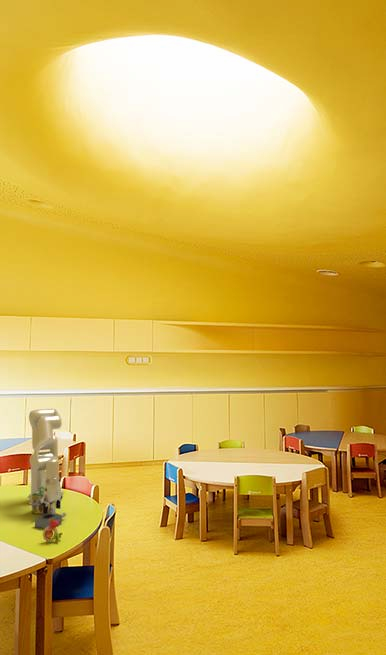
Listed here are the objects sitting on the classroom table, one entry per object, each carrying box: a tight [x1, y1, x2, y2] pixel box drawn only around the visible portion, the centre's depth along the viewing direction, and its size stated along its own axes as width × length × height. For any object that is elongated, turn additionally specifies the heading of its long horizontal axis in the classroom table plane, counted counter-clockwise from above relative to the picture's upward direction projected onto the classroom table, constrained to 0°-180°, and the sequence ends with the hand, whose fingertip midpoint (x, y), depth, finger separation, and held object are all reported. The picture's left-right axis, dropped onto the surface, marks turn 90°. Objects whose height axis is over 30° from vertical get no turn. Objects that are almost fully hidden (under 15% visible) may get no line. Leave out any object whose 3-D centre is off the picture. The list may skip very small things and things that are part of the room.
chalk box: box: [31, 486, 48, 515], centre depth 273 cm, size 9×9×15 cm
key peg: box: [48, 500, 57, 514], centre depth 264 cm, size 5×5×11 cm
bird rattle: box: [42, 520, 63, 544], centre depth 225 cm, size 6×11×9 cm
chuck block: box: [34, 512, 67, 530], centre depth 251 cm, size 10×17×5 cm, turn 151°
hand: (51, 510), depth 264 cm, fingers open, 9 cm apart
